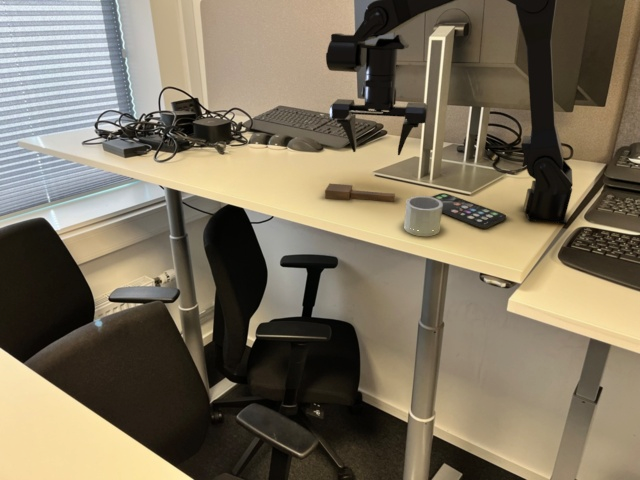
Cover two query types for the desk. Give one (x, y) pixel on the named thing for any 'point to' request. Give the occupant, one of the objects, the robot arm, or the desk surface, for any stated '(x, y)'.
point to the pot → (423, 215)
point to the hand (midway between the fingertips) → (376, 153)
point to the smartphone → (469, 211)
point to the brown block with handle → (355, 193)
